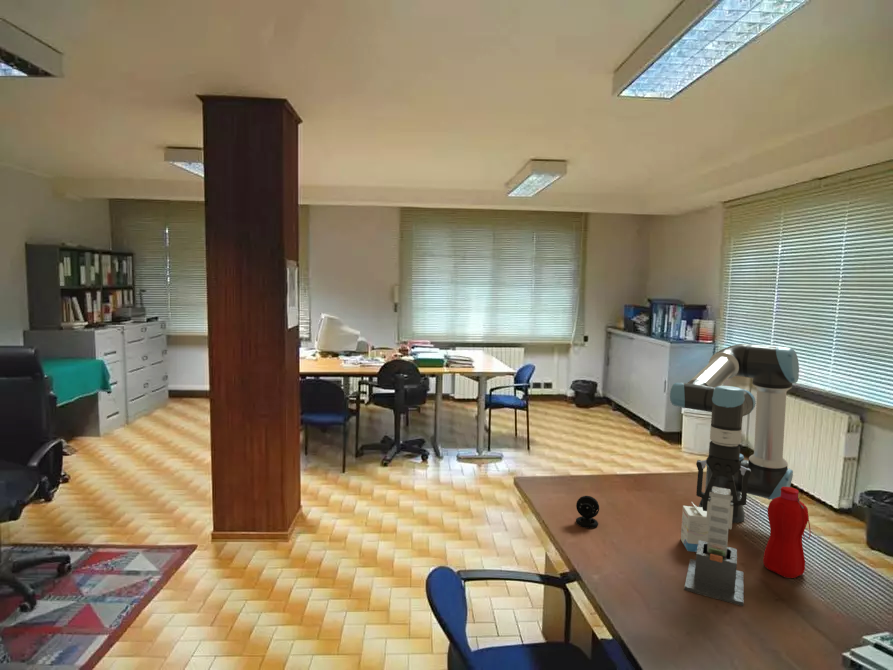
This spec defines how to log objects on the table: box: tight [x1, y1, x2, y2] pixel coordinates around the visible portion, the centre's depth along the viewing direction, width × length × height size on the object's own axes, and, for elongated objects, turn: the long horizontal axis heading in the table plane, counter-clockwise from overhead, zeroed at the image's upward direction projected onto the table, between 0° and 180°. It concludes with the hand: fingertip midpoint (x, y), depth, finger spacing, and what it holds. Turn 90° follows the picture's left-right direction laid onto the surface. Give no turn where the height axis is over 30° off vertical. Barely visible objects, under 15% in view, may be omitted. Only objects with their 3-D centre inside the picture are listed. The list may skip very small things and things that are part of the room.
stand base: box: [683, 540, 745, 607], centre depth 147 cm, size 18×14×10 cm
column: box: [707, 486, 733, 559], centre depth 146 cm, size 6×6×19 cm
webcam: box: [575, 495, 600, 529], centre depth 183 cm, size 8×8×10 cm
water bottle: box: [762, 486, 812, 579], centre depth 153 cm, size 9×11×25 cm
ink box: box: [680, 501, 709, 553], centre depth 168 cm, size 9×8×13 cm
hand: (718, 524), depth 146 cm, fingers closed on column, 5 cm apart
